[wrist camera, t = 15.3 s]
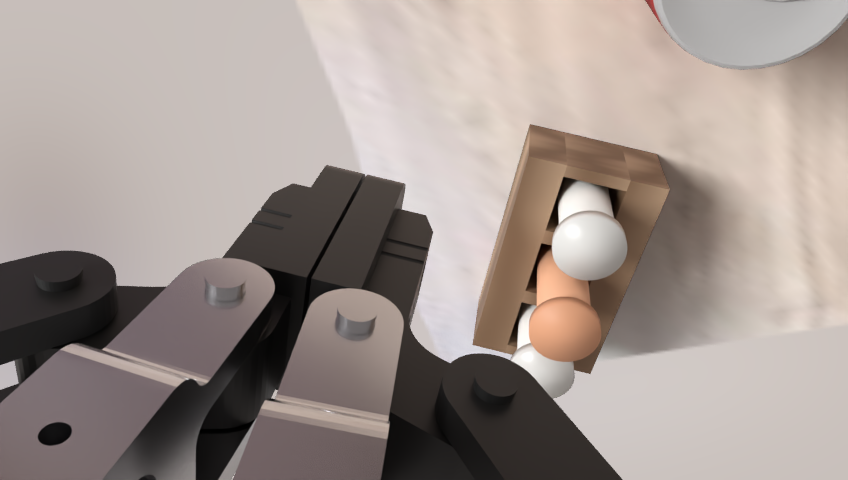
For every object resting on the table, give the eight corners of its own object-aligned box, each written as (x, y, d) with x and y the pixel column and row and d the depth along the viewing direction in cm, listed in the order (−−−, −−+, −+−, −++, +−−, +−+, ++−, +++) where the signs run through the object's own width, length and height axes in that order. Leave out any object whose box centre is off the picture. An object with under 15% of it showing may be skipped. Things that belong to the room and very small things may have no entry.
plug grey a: (576, 275, 46) (582, 359, 38) (560, 318, 48) (563, 406, 40) (522, 262, 46) (518, 343, 38) (508, 305, 48) (502, 390, 40)
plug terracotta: (599, 232, 42) (611, 315, 35) (580, 280, 44) (588, 369, 37) (540, 217, 42) (539, 298, 35) (524, 266, 44) (520, 352, 37)
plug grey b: (620, 158, 41) (638, 227, 34) (600, 210, 43) (613, 287, 36) (560, 144, 41) (564, 210, 34) (543, 197, 43) (543, 270, 36)
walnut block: (656, 154, 41) (669, 189, 37) (586, 327, 48) (590, 373, 44) (529, 124, 41) (528, 156, 37) (478, 301, 49) (472, 344, 44)
